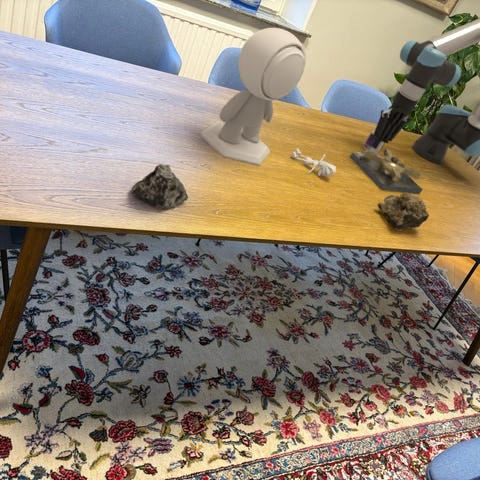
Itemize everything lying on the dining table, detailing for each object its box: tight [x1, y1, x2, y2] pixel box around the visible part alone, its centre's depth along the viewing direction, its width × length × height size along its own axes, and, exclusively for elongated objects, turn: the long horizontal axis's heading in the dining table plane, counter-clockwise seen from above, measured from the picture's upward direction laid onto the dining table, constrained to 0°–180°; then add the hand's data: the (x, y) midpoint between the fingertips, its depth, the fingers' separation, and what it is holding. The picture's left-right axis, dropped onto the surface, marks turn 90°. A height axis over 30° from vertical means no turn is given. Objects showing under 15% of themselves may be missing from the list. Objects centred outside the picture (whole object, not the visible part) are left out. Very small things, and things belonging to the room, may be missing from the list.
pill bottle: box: [362, 129, 376, 151], centre depth 177 cm, size 5×5×10 cm
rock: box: [131, 163, 189, 209], centre depth 100 cm, size 13×10×10 cm
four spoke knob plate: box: [362, 148, 421, 182], centre depth 161 cm, size 22×22×4 cm
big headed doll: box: [199, 27, 307, 166], centre depth 127 cm, size 20×23×35 cm
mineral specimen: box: [377, 192, 430, 231], centre depth 135 cm, size 14×13×10 cm
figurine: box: [291, 148, 337, 178], centre depth 143 cm, size 12×5×15 cm
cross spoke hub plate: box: [349, 150, 423, 195], centre depth 163 cm, size 20×20×3 cm
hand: (371, 155), depth 163 cm, fingers closed
